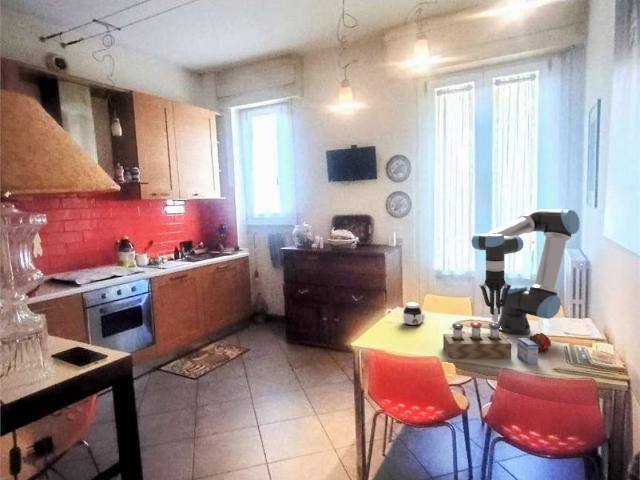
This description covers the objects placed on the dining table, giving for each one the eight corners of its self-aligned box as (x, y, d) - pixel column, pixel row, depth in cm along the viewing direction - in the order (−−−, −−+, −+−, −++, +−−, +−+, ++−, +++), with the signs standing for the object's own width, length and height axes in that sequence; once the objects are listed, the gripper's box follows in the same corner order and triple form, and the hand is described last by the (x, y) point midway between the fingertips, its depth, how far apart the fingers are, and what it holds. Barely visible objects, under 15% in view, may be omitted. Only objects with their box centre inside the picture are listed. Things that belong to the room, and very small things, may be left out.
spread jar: (403, 326, 212) (403, 305, 210) (403, 319, 223) (403, 300, 221) (425, 327, 209) (425, 306, 208) (424, 320, 220) (424, 300, 219)
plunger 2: (479, 340, 174) (479, 321, 173) (482, 344, 170) (483, 325, 169) (469, 340, 175) (469, 321, 174) (472, 344, 170) (472, 325, 169)
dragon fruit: (534, 358, 169) (540, 352, 178) (552, 350, 165) (557, 345, 174) (522, 340, 172) (528, 335, 181) (540, 332, 168) (545, 327, 177)
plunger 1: (461, 342, 175) (461, 323, 174) (464, 346, 171) (464, 326, 169) (451, 342, 176) (451, 323, 174) (453, 346, 171) (453, 326, 170)
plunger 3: (497, 341, 174) (497, 322, 173) (501, 345, 169) (501, 326, 168) (487, 341, 174) (487, 322, 173) (490, 345, 169) (490, 326, 168)
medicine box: (516, 357, 167) (517, 338, 166) (526, 356, 168) (526, 337, 167) (528, 364, 160) (528, 345, 159) (538, 364, 160) (538, 344, 159)
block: (500, 347, 178) (500, 333, 177) (511, 358, 166) (511, 343, 165) (443, 348, 180) (443, 334, 179) (449, 359, 168) (449, 344, 167)
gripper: (506, 267, 171) (506, 318, 174) (476, 268, 172) (477, 318, 175) (513, 270, 163) (513, 323, 166) (482, 271, 164) (482, 324, 167)
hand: (495, 321), depth 170 cm, fingers closed
